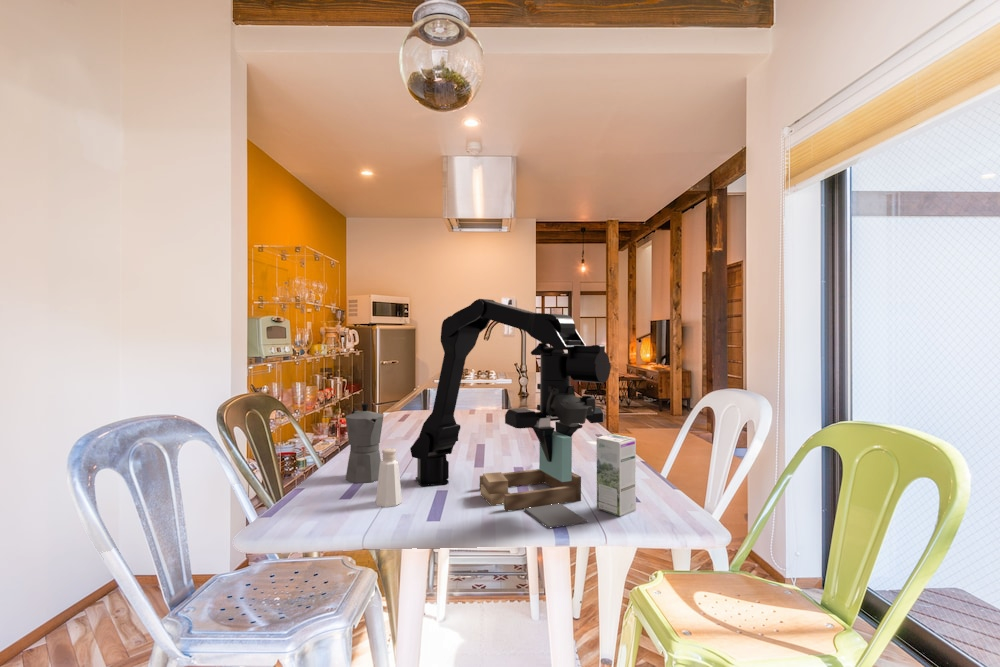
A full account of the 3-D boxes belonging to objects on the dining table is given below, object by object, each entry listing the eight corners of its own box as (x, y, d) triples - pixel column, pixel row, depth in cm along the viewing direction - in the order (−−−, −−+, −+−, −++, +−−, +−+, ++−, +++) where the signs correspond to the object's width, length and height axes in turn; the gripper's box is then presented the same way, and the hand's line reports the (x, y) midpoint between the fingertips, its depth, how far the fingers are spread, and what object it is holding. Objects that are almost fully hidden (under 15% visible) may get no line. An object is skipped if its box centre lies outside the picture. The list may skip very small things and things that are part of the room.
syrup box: (637, 510, 99) (637, 437, 99) (619, 517, 95) (619, 441, 95) (613, 503, 103) (613, 432, 103) (595, 509, 99) (595, 436, 99)
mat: (548, 528, 89) (548, 526, 89) (524, 510, 98) (524, 508, 98) (587, 522, 92) (587, 520, 92) (560, 505, 101) (560, 503, 101)
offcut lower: (491, 507, 101) (491, 494, 101) (480, 496, 108) (480, 485, 108) (509, 504, 103) (509, 492, 103) (497, 494, 109) (497, 483, 109)
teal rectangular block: (562, 482, 91) (562, 438, 91) (539, 469, 99) (539, 429, 99) (571, 480, 92) (571, 437, 92) (548, 468, 100) (548, 428, 100)
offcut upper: (488, 494, 102) (489, 482, 102) (483, 484, 108) (483, 473, 108) (508, 492, 102) (508, 480, 102) (501, 483, 109) (501, 472, 109)
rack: (506, 511, 98) (506, 485, 98) (479, 489, 112) (479, 466, 112) (581, 500, 104) (581, 476, 104) (546, 480, 118) (546, 459, 118)
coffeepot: (393, 481, 118) (394, 405, 118) (354, 488, 112) (354, 408, 112) (370, 467, 130) (370, 398, 130) (334, 472, 125) (334, 400, 125)
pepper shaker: (393, 496, 106) (393, 445, 106) (407, 503, 102) (407, 449, 102) (370, 502, 102) (370, 449, 103) (384, 509, 99) (384, 453, 99)
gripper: (530, 385, 84) (529, 477, 84) (621, 381, 92) (620, 466, 92) (504, 379, 95) (503, 461, 95) (588, 376, 102) (587, 453, 102)
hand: (554, 460), depth 95 cm, fingers closed on teal rectangular block, 2 cm apart
